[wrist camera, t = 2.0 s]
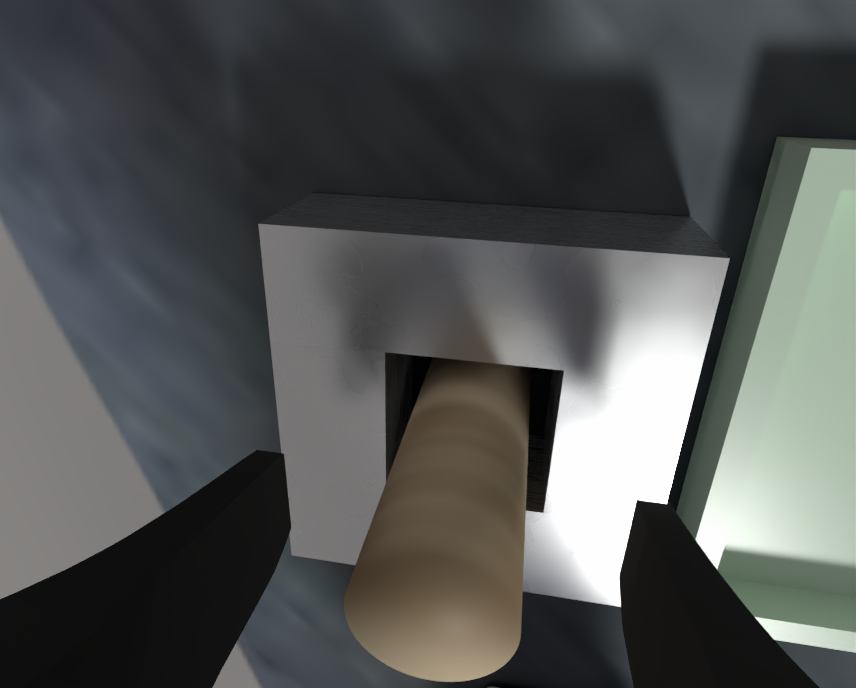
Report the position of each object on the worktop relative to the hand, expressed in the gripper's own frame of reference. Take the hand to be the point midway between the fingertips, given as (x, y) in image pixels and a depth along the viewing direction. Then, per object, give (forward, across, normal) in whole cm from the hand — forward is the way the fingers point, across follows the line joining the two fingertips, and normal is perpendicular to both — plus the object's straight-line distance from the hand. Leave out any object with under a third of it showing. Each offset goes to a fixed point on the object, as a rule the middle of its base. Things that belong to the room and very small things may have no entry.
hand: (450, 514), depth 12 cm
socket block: (+6, 0, 0) cm, 6 cm away
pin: (+6, 0, 0) cm, 6 cm away
